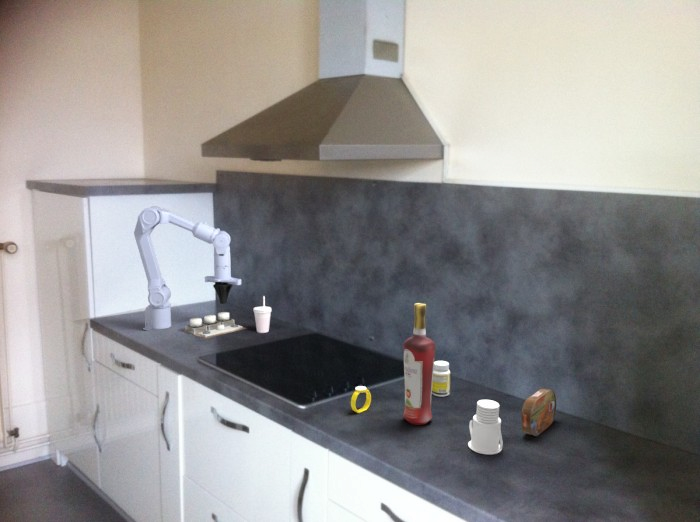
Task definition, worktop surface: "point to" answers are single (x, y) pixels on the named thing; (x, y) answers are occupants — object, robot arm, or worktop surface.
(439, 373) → the supplement bottle
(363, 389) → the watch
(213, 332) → the strip
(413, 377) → the liquor
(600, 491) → the worktop surface
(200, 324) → the button near
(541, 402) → the tin
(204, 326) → the console
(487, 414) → the downlight
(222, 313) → the button far
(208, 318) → the button mid
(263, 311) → the smoothie
